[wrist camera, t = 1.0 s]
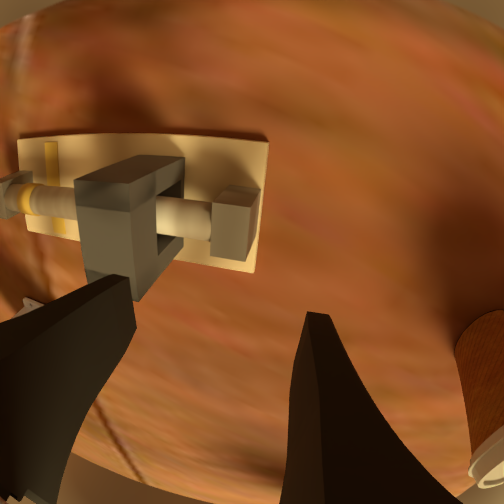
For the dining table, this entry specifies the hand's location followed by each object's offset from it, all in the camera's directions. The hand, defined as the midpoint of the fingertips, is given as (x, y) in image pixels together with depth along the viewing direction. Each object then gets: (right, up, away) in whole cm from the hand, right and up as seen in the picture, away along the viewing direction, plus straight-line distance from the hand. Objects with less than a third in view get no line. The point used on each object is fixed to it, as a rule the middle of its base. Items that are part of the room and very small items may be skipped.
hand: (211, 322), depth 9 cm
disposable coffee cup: (+21, -5, +11) cm, 24 cm away
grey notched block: (-4, +6, +10) cm, 12 cm away
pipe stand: (-8, +6, +10) cm, 14 cm away
